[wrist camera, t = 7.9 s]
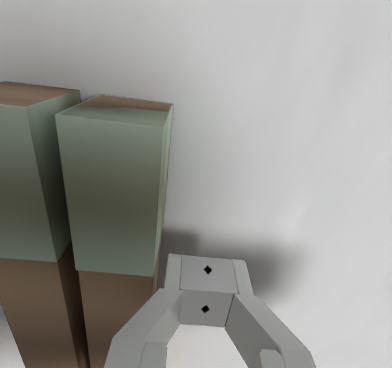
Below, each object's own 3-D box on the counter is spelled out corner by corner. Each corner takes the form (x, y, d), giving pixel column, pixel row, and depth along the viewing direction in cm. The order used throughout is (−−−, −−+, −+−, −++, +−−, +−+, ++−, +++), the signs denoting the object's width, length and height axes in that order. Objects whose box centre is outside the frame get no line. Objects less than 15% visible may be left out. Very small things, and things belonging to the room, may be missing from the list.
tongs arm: (149, 388, 18) (141, 449, 15) (114, 386, 18) (99, 447, 15) (173, 104, 9) (163, 127, 6) (100, 94, 8) (54, 114, 6)
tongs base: (-10, 79, 8) (-198, 105, 4) (178, 101, 9) (164, 144, 5) (74, 411, 20) (43, 502, 16) (154, 415, 20) (143, 505, 16)
